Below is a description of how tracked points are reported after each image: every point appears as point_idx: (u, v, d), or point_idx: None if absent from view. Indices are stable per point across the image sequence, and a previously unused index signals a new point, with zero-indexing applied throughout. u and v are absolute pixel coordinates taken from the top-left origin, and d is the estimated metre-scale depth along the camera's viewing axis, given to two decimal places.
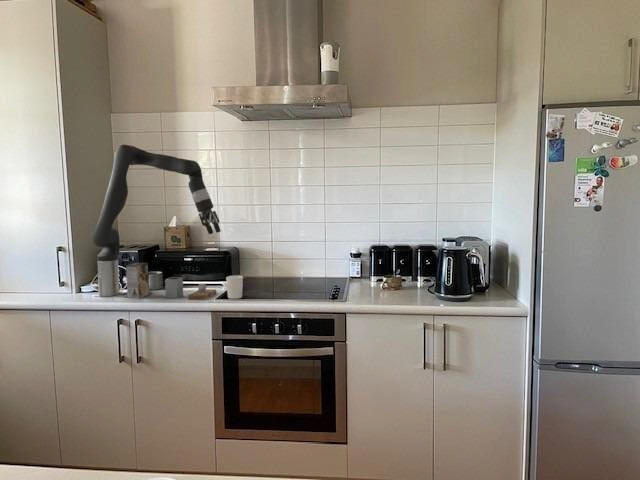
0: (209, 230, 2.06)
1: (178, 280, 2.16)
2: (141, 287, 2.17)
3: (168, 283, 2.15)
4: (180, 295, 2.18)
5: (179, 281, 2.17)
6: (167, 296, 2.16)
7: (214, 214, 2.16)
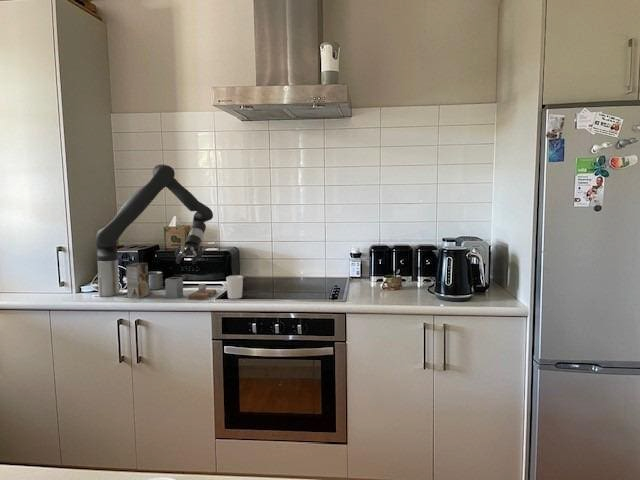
0: (195, 261, 2.29)
1: (178, 280, 2.16)
2: (141, 287, 2.17)
3: (168, 283, 2.15)
4: (180, 295, 2.18)
5: (179, 281, 2.17)
6: (167, 296, 2.16)
7: None
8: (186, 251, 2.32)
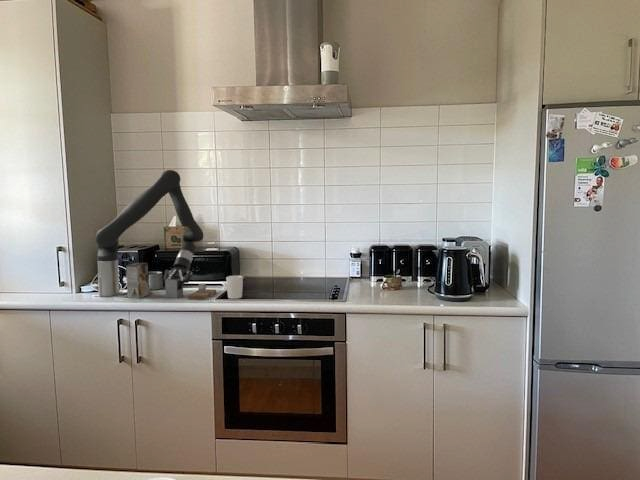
0: (181, 286, 2.17)
1: (178, 280, 2.16)
2: (141, 287, 2.17)
3: (168, 283, 2.15)
4: (180, 295, 2.18)
5: (179, 281, 2.17)
6: (167, 296, 2.16)
7: (169, 274, 2.24)
8: (175, 274, 2.21)
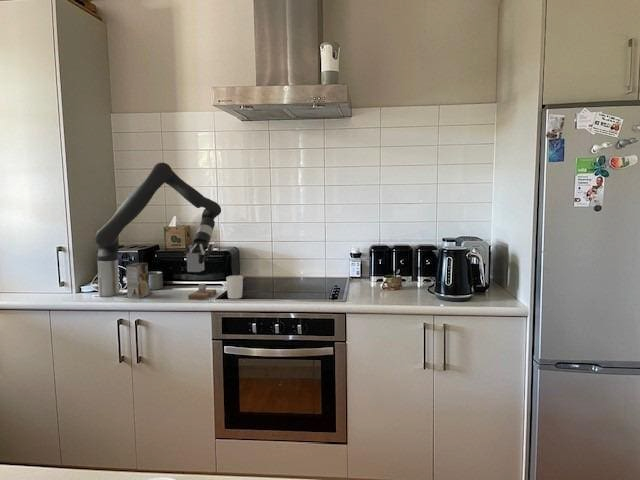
0: (203, 260, 2.17)
1: (199, 254, 2.16)
2: (141, 287, 2.17)
3: (190, 257, 2.15)
4: (201, 269, 2.18)
5: (200, 255, 2.17)
6: (189, 270, 2.16)
7: (190, 249, 2.23)
8: (196, 249, 2.20)
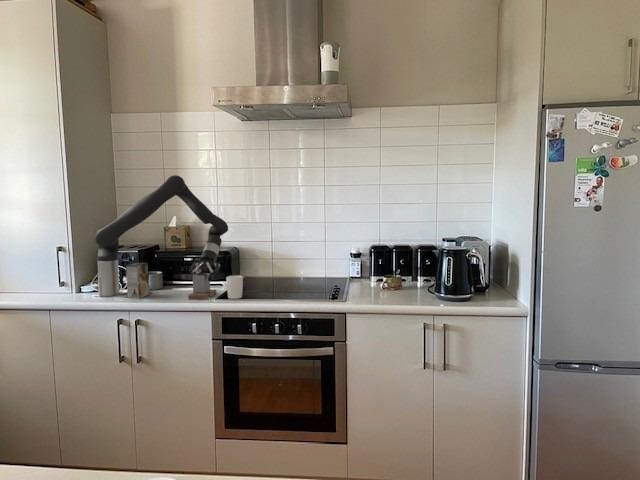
0: (211, 278, 2.17)
1: (205, 276, 2.16)
2: (141, 287, 2.17)
3: (196, 279, 2.16)
4: (207, 291, 2.19)
5: (206, 277, 2.17)
6: (194, 292, 2.16)
7: (196, 266, 2.24)
8: (202, 267, 2.21)
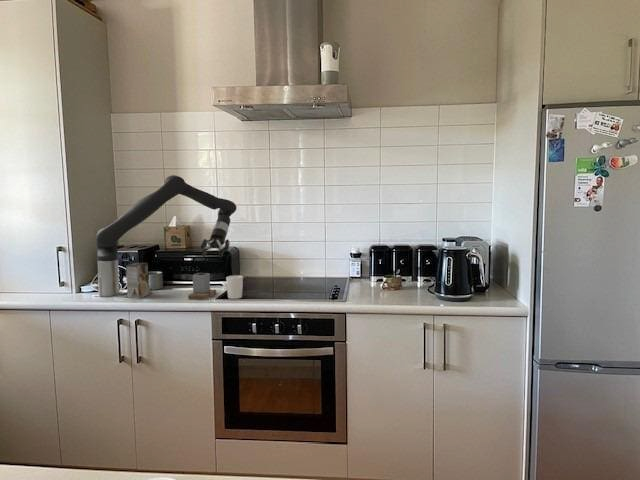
0: (221, 254, 2.29)
1: (205, 276, 2.16)
2: (141, 287, 2.17)
3: (196, 279, 2.16)
4: (207, 291, 2.19)
5: (206, 277, 2.17)
6: (194, 292, 2.16)
7: (207, 243, 2.36)
8: (212, 244, 2.33)
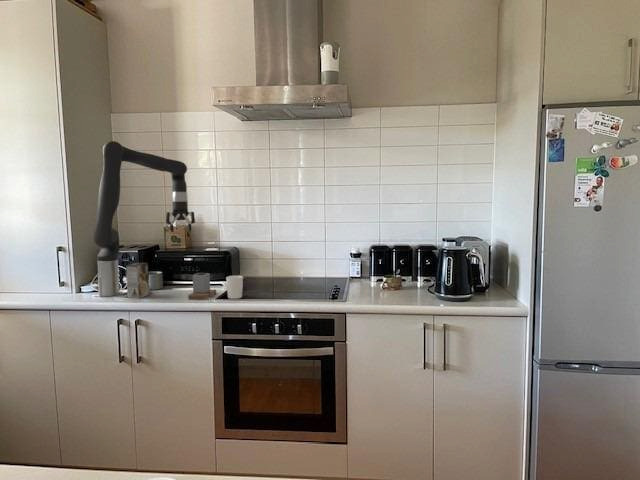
0: (190, 228, 2.38)
1: (205, 276, 2.16)
2: (141, 287, 2.17)
3: (196, 279, 2.16)
4: (207, 291, 2.19)
5: (206, 277, 2.17)
6: (194, 292, 2.16)
7: None
8: (178, 219, 2.33)
